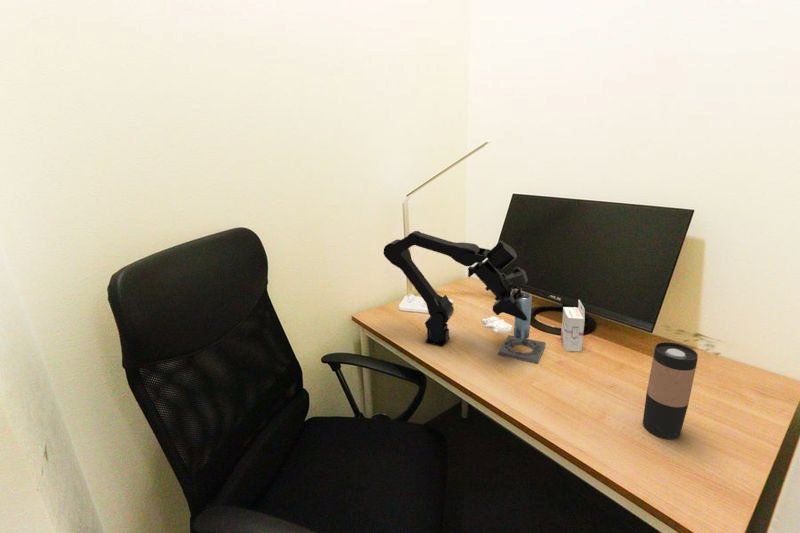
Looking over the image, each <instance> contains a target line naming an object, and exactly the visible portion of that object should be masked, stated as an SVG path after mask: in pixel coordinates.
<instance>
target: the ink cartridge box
mask: <svg viewBox="0 0 800 533" xmlns="http://www.w3.org/2000/svg"><path fill="white" fill-rule="evenodd" d="M577 304H578V307H575V306H573V307H571V306H563V307H562V308H563V309H562V321H561V330H560V340H561V342H562V344H563V347H564V350H565V352H579V353H580V352H582V349H583V342H584V340H583V339H584V332H585V331H584V330H585V322H586V320H585V319H586V317H585V316H586V315H585V314H586V311H585V310H586V309H585V307H584V305H583V303H582V301H581V300H580V299H578V303H577Z"/></svg>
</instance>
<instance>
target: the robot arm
mask: <svg viewBox="0 0 800 533" xmlns="http://www.w3.org/2000/svg"><path fill="white" fill-rule="evenodd" d="M414 246H416V247H419V248H423V249H425V250H429V251H432V252H435V253H438V254H442V255H444V256H448V257H449V258H451V259H452V260H453V261H454V262H456V263H458V264H460V265H462V266H465V267H468V268H467V271H468V273H467V276H468V278H471V277H472V276H473V275H475V276H476V277H477V278H478V279H479V280H480V281H481V282H482V283H483V284H484V285H485V290H486V291H487V292H488V291H490V292H491V293H492V295H494V300H495V302H494V304H493V305H492V312H493V313H494V314H495V315H496V316H499V315H500V314H501V313H502V314H503V313H504V314H506V315H510V316H512V317H513V318H515V317H517V318H519V319H521V320H524V321H525V320H527V317H526V315H525V314H524V313H523V311H522V310H521V308H520V307H519V306H518V304H517V302H518V298H516V295H517V294H519V293H522V290H523V289H522V287H521V286H525V285H526V284H527V283H528V281H529V279H528V276H527V272H526V271H525V269H522V268H521V267H520V266H517V267H514V269H513V271H512V272H511V273H510V274H508V275H507V274H506V273H504V272H500V271H499V269H500V270H504V269H505V268H506V267H507V266H509V265H510V264H511V263H512V262H514V260H516V259H517V258H518V254H517V252H516V250H514V248H513V247H512V246H511V245H509V244H507V243H505V242H504V241H503V240H500V241H498V242H497V243H496V245H494V247H492V248H491V249H488V248H484V247H479V246H478V245H477V244H475V243H471V242H470V243H469V242H455V241H454V242H453V241H451V240H447V239H443V238H441V237H437V236H433V235H431V234H430V235H429V234H426V233H424V232H421V231H419V230H414V231H411V232H410V233H409V234H408V235H407V236H405V237H403V238H402V239H399V238H398V239H395V240H393V241H391V242H389V243H387V244H386V245H384V248H383V252H382V253H383V255H384V257H385V258H386V259H387V261H388V262H390V264H391V265H393V266H395V267H396V268H398V269H400V270H401V272H402V273H403V274H404V275H405V276H406V279H408V281H409V283H410V284H411V285H412V286H413V288H414V289H415V291H416V292H418V294H419V296H420V297H421V298H422V299H423V301H424V303H425V304H426V307H427V312H428V314H429V317H428V318H427V319H426V321H425V322H424V324H425V328H426V333H427V334H426V336H427V337H426V340H425V343H427V344H430V345H434V346H439V347H444V345H445V344H447V342H448V341H449V340H450V329H449V328H448V327H449V326H448V321H449V320H450V319H451V317H452V316H453V315H454V312H455V311H454V310H455V309H454V306H453V305H454V303H453V302H452V301H450V300H449V298H448V296H447V295H446V294H445V295H443V296H441V295H439V294H438V293H437V292H436V290H435V289H434V288H433V286H432V284H430V282H429V281H428V280H427V279H426V277H425V275H424V274H423V273H422V271H420V269H419V267H418V266H417V265H416V264H415V262H414V261H413V260H412V255H411V252H410V248H411V247H414ZM518 287H520V288H518ZM517 288H518V289H517Z"/></svg>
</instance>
